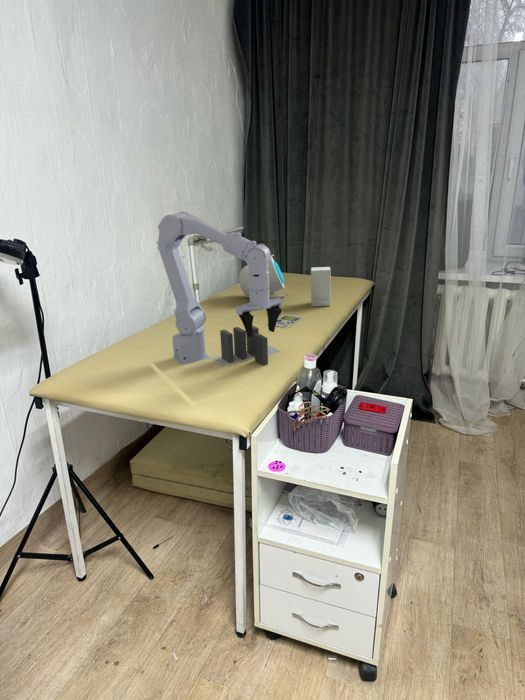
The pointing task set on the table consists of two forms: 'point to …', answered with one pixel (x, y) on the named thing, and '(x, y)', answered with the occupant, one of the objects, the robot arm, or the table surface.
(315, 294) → the skincare box
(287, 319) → the handheld gaming device
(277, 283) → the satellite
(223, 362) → the mat
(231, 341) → the domino
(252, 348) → the domino
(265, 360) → the domino
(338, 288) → the table surface
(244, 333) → the domino
